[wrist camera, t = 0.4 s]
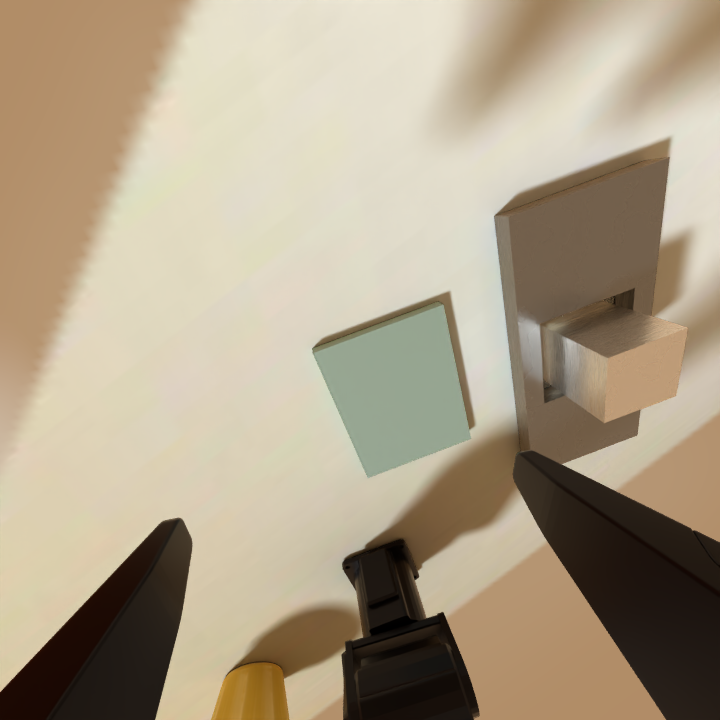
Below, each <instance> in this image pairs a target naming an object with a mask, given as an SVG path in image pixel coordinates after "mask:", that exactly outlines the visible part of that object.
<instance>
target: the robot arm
mask: <svg viewBox="0 0 720 720" xmlns="http://www.w3.org/2000/svg"><path fill="white" fill-rule="evenodd" d="M513 479H514V482H515V484H516V486H517V488H518V489H519V491H520V493H521V495H522V497H523V499H524V501H525V502H526V504H527V506H528V508H529V510H530V512H531V513H532V515H533V517H534V519H535V521H536V523H537V525H538V526H539V528H540V530H541V532H542V533H543V535H544V537H545V538H546V540H547V541H548V543H549V544H550V546H551V547H552V549H553V550H554V552H555V553H556V555H557V556H558V558H559V559H560V561H561V562H562V564H563V565H564V567H565V568H566V570H567V571H568V573H569V574H570V576H571V577H572V579H573V580H574V582H575V583H576V585H577V586H578V588H579V589H580V591H581V592H582V594H583V595H584V597H585V598H586V600H587V601H588V603H589V604H590V606H591V607H592V609H593V610H594V612H595V613H596V615H597V616H598V618H599V619H600V621H601V622H602V624H603V625H604V627H605V628H606V630H607V631H608V633H609V634H610V636H611V637H612V639H613V640H614V642H615V643H616V645H617V646H618V648H619V649H620V651H621V652H622V654H623V655H624V657H625V658H626V660H627V661H628V663H629V664H630V666H631V667H632V669H633V670H634V672H635V674H636V675H637V677H638V678H639V679H640V681H641V682H642V684H643V685H644V687H645V688H646V690H647V691H648V693H649V694H650V696H651V697H652V699H653V700H654V702H655V703H656V705H657V706H658V708H659V710H660V711H661V713H662V714H663V716H664V717H665V719H666V720H720V542H718V541H716V540H714V539H712V538H710V537H708V536H706V535H704V534H702V533H700V532H698V531H692V529H691V528H689V527H687V526H685V525H683V524H681V523H679V522H677V521H675V520H673V519H671V518H669V517H667V516H665V515H663V514H661V513H659V512H657V511H655V510H653V509H651V508H649V507H646V506H645V505H643V504H641V503H639V502H637V501H635V500H632V499H630V498H628V497H626V496H624V495H622V494H620V493H618V492H616V491H614V490H612V489H610V488H608V487H606V486H604V485H602V484H600V483H598V482H596V481H594V480H592V479H590V478H588V477H586V476H584V475H582V474H580V473H578V472H576V471H574V470H572V469H570V468H568V467H566V466H564V465H562V464H560V463H558V462H556V461H554V460H551V459H549V458H547V457H545V456H543V455H541V454H539V453H537V452H535V451H533V450H527V451H522V452H518V453H517V454H516V457H515V463H514V469H513ZM191 553H192V539H191V536H190V534H189V532H188V530H187V527H186V525H185V523H184V521H183V520H182V519H181V518H174V519H169V520H165V521H163V522H161V523H160V524H159V525H158V526H157V527H156V528H155V529H154V530H153V531H152V532H151V533H150V535H149V536H148V537H147V538H146V539H145V540H144V541H143V542H142V543H141V544H140V545H139V546H138V547H137V548H136V549H135V550H134V551H133V552H132V554H131V555H130V556H129V557H128V558H127V559H126V560H125V561H124V562H123V563H122V564H121V565H120V566H119V567H118V568H117V569H116V570H115V571H114V573H113V574H112V575H111V576H110V577H109V578H108V579H107V580H106V581H105V582H104V583H103V584H102V585H101V586H100V587H99V588H98V589H97V590H96V592H95V593H94V594H93V595H92V596H91V597H90V598H89V599H88V600H87V601H86V602H85V603H84V604H83V605H82V606H81V607H80V608H79V609H78V611H77V612H76V613H75V614H74V615H73V616H72V617H71V618H70V619H69V620H68V621H67V622H66V623H65V624H64V625H63V626H62V627H61V628H60V630H59V631H58V632H57V633H56V634H55V635H54V636H53V637H52V638H51V639H50V640H49V641H48V642H47V643H46V644H45V645H44V646H43V647H42V649H41V650H40V651H39V652H38V653H37V654H36V655H35V656H34V657H33V658H32V659H31V660H30V661H29V662H28V663H27V664H26V665H25V667H24V668H23V669H22V670H21V671H20V672H19V673H18V674H17V675H16V676H15V677H14V678H13V679H12V680H11V681H10V682H9V683H8V684H7V686H6V687H5V688H4V689H3V690H2V691H1V692H0V720H155V718H156V714H157V710H158V706H159V703H160V699H161V695H162V691H163V687H164V683H165V679H166V675H167V672H168V668H169V664H170V660H171V656H172V652H173V648H174V644H175V641H176V637H177V633H178V629H179V625H180V620H181V616H182V610H183V605H184V598H185V592H186V585H187V579H188V573H189V566H190V560H191ZM342 567H343V570H344V572H345V574H346V575H347V577H348V578H349V580H350V582H351V583H352V585H353V587H354V588H355V590H356V593H357V599H358V606H359V612H360V619H361V625H362V632H363V638H360V639H357V640H354V641H352V640H349V641H346V642H345V646H346V651H345V652H344V653H343V654H342V665H343V677H344V700H343V702H344V703H343V720H474V718H477V717H479V716H480V715H479V708H478V704H477V700H476V697H475V693H474V690H473V687H472V683H471V680H470V677H469V675H468V672H467V669H466V666H465V664H464V661H463V659H462V656H461V654H460V651H459V649H458V647H457V644H456V642H455V639H454V637H453V634H452V632H451V630H450V627H449V625H448V622H447V620H446V617H445V615H444V613H443V612H441V613H438V614H437V615H436V616H433V617H429V618H426V615H425V612H424V608H423V605H422V602H421V599H420V596H419V592H418V589H417V586H416V583H415V580H416V579H418V578H419V574H418V571H417V569H416V566H415V564H414V562H413V559H412V557H411V554H410V552H409V550H408V547H407V545H406V542H405V541H404V540H398V541H395V542H392V543H390V544H387V545H385V546H382V547H379V548H377V549H374V550H372V551H369V552H366V553H364V554H361V555H358V556H356V557H353V558H351V559H348V560H345V561H344V562H343V563H342Z"/></svg>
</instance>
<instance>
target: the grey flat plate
mask: <svg viewBox="0 0 720 720" xmlns="http://www.w3.org/2000/svg"><path fill="white" fill-rule="evenodd" d="M668 166H669V157H668V158H660V159H652V160H645V161H642V162H639V163H637V164H634V165H631V166H628V167H626V168H623V169H620V170H618V171H615V172H612V173H610V174H607V175H604V176H601V177H599V178H596V179H593V180H591V181H588V182H585V183H582V184H580V185H577V186H574V187H572V188H569V189H566V190H564V191H561V192H558V193H555V194H553V195H550V196H547V197H545V198H542V199H539V200H537V201H534V202H531V203H528V204H526V205H523V206H520V207H518V208H515V209H512V210H510V211H507V212H504V213H501V214H499V215H496V216H494V218H495V227H496V236H497V245H498V254H499V262H500V271H501V280H502V289H503V298H504V307H505V316H506V324H507V333H508V342H509V351H510V360H511V369H512V378H513V386H514V395H515V404H516V413H517V422H518V431H519V440H520V449H521V452H522V451H527V450H533V451H535V452H537V453H539V454H541V455H543V456H545V457H547V458H549V459H551V460H554V461H556V462H558V463H560V464H563V463H566V462H568V461H571V460H574V459H576V458H579V457H582V456H584V455H587V454H589V453H592V452H595V451H597V450H600V449H602V448H605V447H608V446H610V445H613V444H616V443H618V442H621V441H623V440H626V439H629V438H631V437H634V436H637V434H638V426H639V417H640V410H638V411H635V412H632V413H630V414H627V415H624V416H622V417H619V418H617V419H614V420H611V421H609V422H606V423H603V422H602V421H600V420H599V419H598V418H596V417H595V416H593V415H592V414H591V413H589V412H588V411H586V410H585V409H584V408H582V407H581V406H579V405H578V404H577V403H575V402H574V401H572V400H571V399H570V398H568V397H567V396H565V395H564V394H563V393H561V392H560V391H558V390H557V389H556V388H554V387H553V386H551V387H548V388H545V389H544V388H543V371H542V355H541V338H540V323H543V322H546V321H548V320H551V319H554V318H556V317H559V316H562V315H564V314H567V313H570V312H572V311H575V310H578V309H580V308H583V307H585V306H588V305H591V304H593V303H596V302H599V301H601V300H604V299H607V298H609V297H612V296H615V305H618V306H621V307H624V308H627V309H630V310H633V311H637V312H640V313H643V314H646V315H649V316H651V313H652V305H653V296H654V287H655V279H656V270H657V261H658V253H659V244H660V235H661V227H662V218H663V209H664V201H665V192H666V183H667V175H668Z"/></svg>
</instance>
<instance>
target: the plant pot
mask: <svg viewBox="0 0 720 720" xmlns="http://www.w3.org/2000/svg"><path fill="white" fill-rule="evenodd" d="M211 720H289V713H288V706H287V699H286V692H285V685H284V678H283V671H282V669H281V668H280V667H279V666H278V665H276V664H274V663H269V662H256V663H250V664H246V665H243V666H241V667H238V668H236V669H235V670H233V671H231V672H230V673H229V674H228V675H227V676H226V678H225V679H224V681H223V684H222V687H221V690H220V693H219V696H218V700H217V703H216V706H215V709H214V712H213V716H212V719H211Z"/></svg>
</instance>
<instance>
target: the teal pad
mask: <svg viewBox="0 0 720 720" xmlns="http://www.w3.org/2000/svg"><path fill="white" fill-rule="evenodd" d="M312 350H313V355H314V357H315V359H316V361H317V364H318V366H319V368H320V371H321V373H322V375H323V377H324V380H325V382H326V384H327V386H328V389H329V391H330V393H331V396H332V398H333V400H334V402H335V405H336V407H337V409H338V411H339V414H340V416H341V418H342V420H343V423H344V425H345V427H346V430H347V432H348V434H349V436H350V439H351V441H352V443H353V445H354V448H355V450H356V452H357V455H358V457H359V459H360V461H361V464H362V466H363V468H364V470H365V473H366V475H367V477H368V478H369V477H372V476H375V475H377V474H380V473H383V472H385V471H388V470H390V469H393V468H396V467H398V466H401V465H404V464H406V463H409V462H412V461H414V460H417V459H419V458H422V457H425V456H427V455H430V454H433V453H435V452H438V451H441V450H443V449H446V448H448V447H451V446H454V445H456V444H459V443H462V442H464V441H467V440H470V439H471V436H470V431H469V426H468V421H467V416H466V412H465V407H464V402H463V397H462V392H461V387H460V382H459V378H458V373H457V368H456V363H455V358H454V353H453V349H452V344H451V339H450V334H449V329H448V324H447V320H446V315H445V310H444V305H443V304H442V303H440V302H439V301H438V302H436V303H433V304H430V305H427V306H425V307H422V308H419V309H417V310H414V311H411V312H409V313H406V314H403V315H401V316H398V317H395V318H393V319H390V320H387V321H385V322H382V323H379V324H377V325H374V326H371V327H368V328H366V329H363V330H360V331H358V332H355V333H352V334H350V335H347V336H344V337H342V338H339V339H336V340H334V341H331V342H328V343H326V344H323V345H320V346H317V347H315V348H312Z"/></svg>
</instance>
